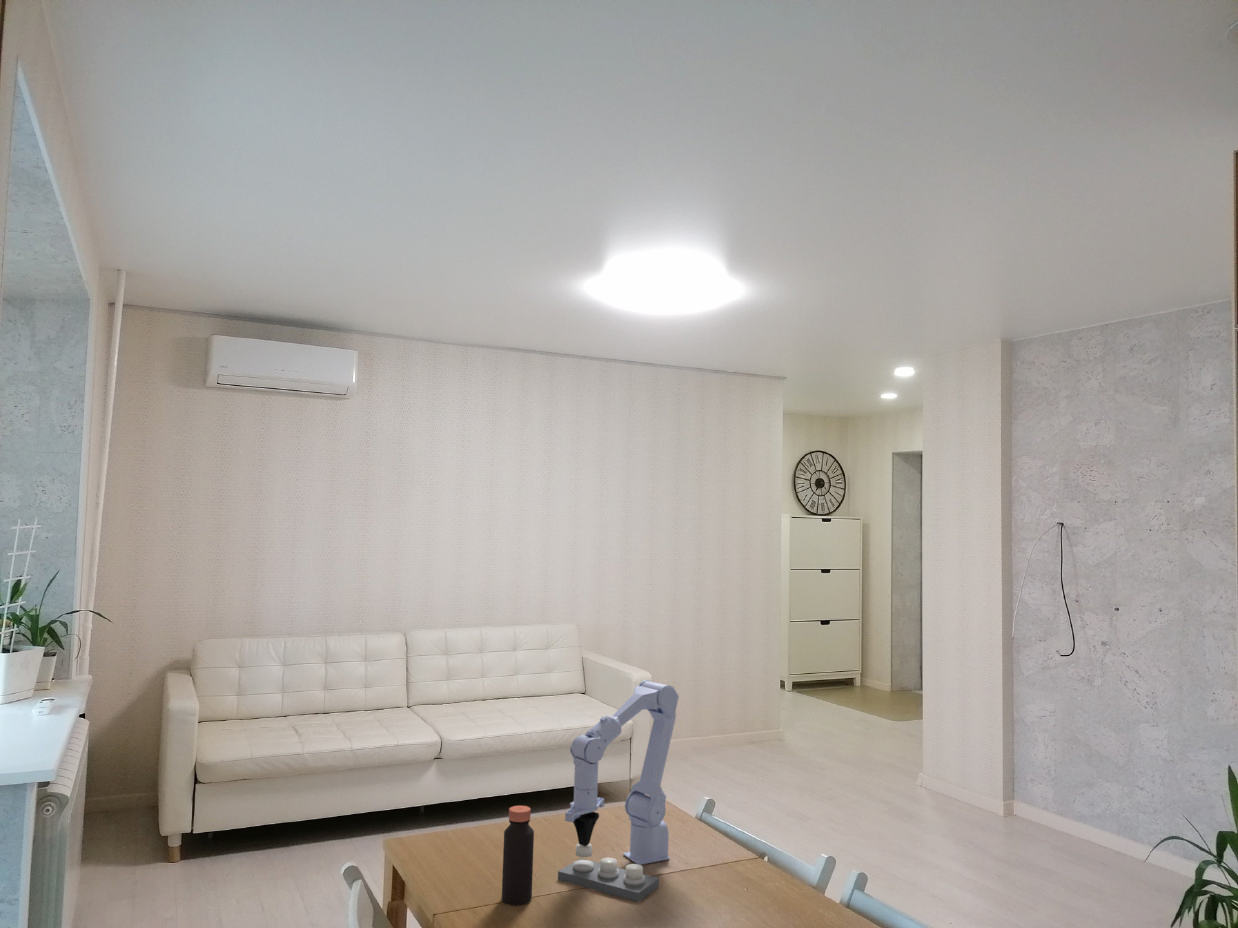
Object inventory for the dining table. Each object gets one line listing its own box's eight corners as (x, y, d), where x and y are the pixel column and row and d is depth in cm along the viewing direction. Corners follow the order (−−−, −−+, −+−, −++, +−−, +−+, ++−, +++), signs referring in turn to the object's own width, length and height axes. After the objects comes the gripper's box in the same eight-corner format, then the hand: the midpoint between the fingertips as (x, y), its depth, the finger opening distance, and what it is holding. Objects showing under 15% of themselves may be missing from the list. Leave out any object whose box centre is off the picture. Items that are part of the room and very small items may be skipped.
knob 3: (645, 874, 205) (645, 866, 205) (637, 880, 202) (637, 871, 202) (630, 871, 207) (631, 862, 207) (622, 876, 204) (622, 867, 204)
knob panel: (658, 886, 206) (659, 873, 207) (638, 901, 198) (638, 888, 198) (580, 866, 218) (580, 853, 218) (557, 879, 209) (558, 866, 209)
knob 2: (620, 868, 209) (620, 859, 209) (611, 873, 205) (611, 865, 205) (605, 864, 211) (605, 856, 211) (596, 870, 207) (597, 861, 207)
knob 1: (595, 853, 212) (595, 844, 212) (586, 858, 209) (586, 849, 209) (581, 849, 214) (581, 841, 215) (572, 854, 211) (572, 846, 211)
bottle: (517, 890, 202) (520, 802, 203) (538, 899, 198) (541, 808, 199) (495, 899, 197) (498, 808, 198) (516, 908, 193) (519, 815, 194)
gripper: (587, 776, 221) (586, 832, 220) (555, 791, 209) (553, 849, 208) (611, 781, 217) (610, 837, 216) (580, 796, 205) (578, 856, 204)
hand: (584, 844), depth 212 cm, fingers closed
